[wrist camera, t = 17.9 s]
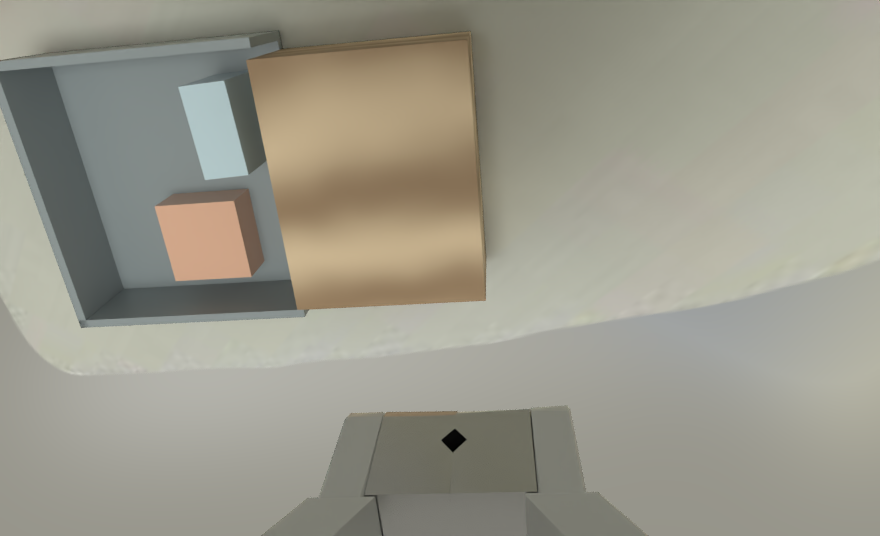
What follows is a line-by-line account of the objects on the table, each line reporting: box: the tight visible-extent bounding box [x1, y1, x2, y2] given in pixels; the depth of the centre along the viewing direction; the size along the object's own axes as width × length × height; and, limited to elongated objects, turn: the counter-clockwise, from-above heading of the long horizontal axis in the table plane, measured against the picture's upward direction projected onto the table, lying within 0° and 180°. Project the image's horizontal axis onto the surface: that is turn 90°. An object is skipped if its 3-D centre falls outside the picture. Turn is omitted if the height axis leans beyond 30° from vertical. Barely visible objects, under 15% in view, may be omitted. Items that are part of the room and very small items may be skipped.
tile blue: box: [178, 70, 267, 180], centre depth 36 cm, size 5×5×2 cm
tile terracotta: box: [155, 189, 264, 281], centre depth 40 cm, size 5×5×2 cm
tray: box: [0, 31, 309, 328], centre depth 38 cm, size 16×14×5 cm
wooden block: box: [246, 31, 486, 310], centre depth 36 cm, size 14×11×6 cm
